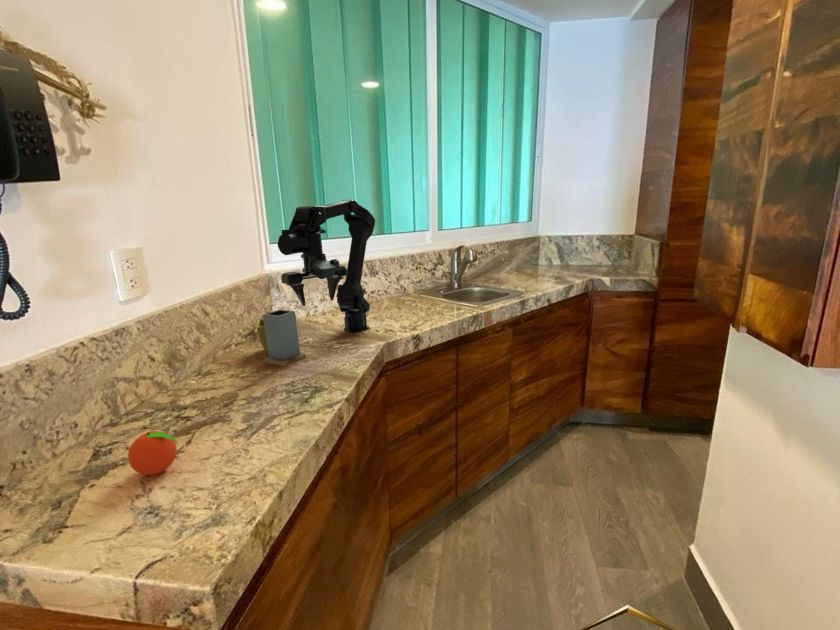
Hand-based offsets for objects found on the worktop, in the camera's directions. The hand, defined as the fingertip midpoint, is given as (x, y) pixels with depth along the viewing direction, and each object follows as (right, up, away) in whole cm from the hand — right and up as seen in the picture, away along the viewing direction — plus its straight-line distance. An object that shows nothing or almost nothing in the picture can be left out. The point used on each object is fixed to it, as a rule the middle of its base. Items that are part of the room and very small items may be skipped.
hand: (318, 303), depth 133 cm
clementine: (-13, -30, -58) cm, 67 cm away
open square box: (-7, -15, -9) cm, 19 cm away
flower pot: (-13, -14, 0) cm, 19 cm away
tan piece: (-7, -16, -8) cm, 20 cm away
